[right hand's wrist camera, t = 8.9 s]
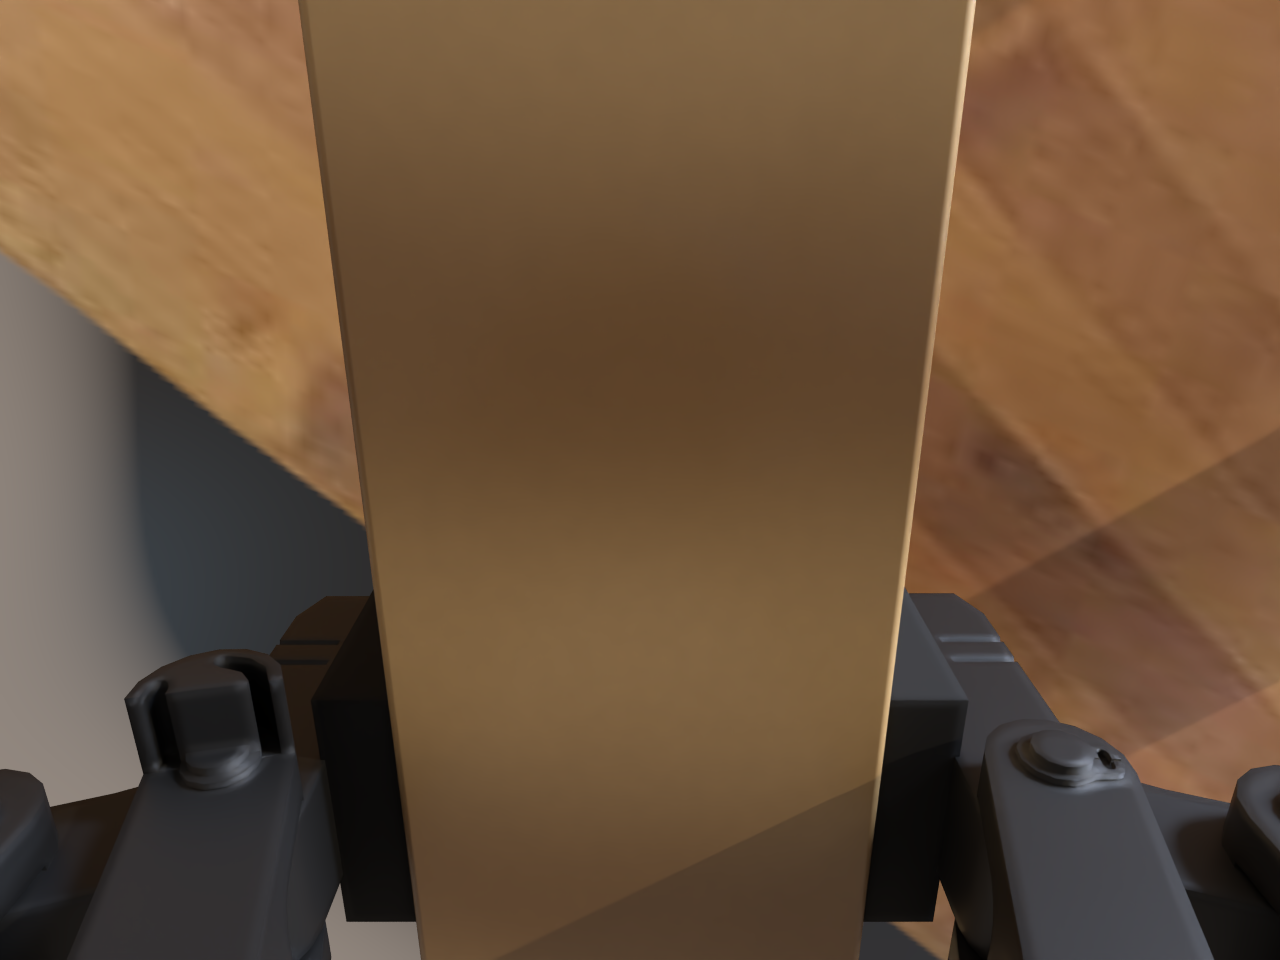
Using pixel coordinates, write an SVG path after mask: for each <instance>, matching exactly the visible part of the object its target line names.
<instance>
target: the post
mask: <svg viewBox="0 0 1280 960" xmlns="http://www.w3.org/2000/svg"><path fill="white" fill-rule="evenodd" d="M298 3H299V11H300V19H301V27H302V34H303V42H304V50H305V58H306V66H307V73H308V81H309V89H310V97H311V105H312V112H313V120H314V128H315V136H316V144H317V151H318V159H319V167H320V175H321V183H322V190H323V198H324V206H325V214H326V222H327V229H328V237H329V245H330V253H331V261H332V268H333V276H334V284H335V292H336V300H337V307H338V315H339V323H340V331H341V338H342V346H343V354H344V362H345V370H346V377H347V385H348V393H349V401H350V409H351V416H352V424H353V432H354V440H355V448H356V455H357V463H358V471H359V479H360V487H361V494H362V502H363V510H364V518H365V526H366V533H367V541H368V549H369V557H370V565H371V572H372V580H373V588H374V596H375V604H376V611H377V619H378V627H379V635H380V643H381V650H382V658H383V666H384V674H385V682H386V689H387V697H388V705H389V713H390V721H391V728H392V736H393V744H394V752H395V760H396V767H397V775H398V783H399V791H400V799H401V806H402V814H403V822H404V830H405V838H406V845H407V853H408V861H409V869H410V877H411V884H412V892H413V900H414V908H415V916H416V923H417V931H418V939H419V947H420V955H421V960H859V952H860V944H861V936H862V927H863V919H864V911H865V903H866V895H867V887H868V878H869V870H870V862H871V854H872V846H873V838H874V830H875V821H876V813H877V805H878V797H879V789H880V781H881V772H882V764H883V756H884V748H885V740H886V732H887V723H888V715H889V707H890V699H891V691H892V683H893V674H894V666H895V658H896V650H897V642H898V634H899V626H900V617H901V609H902V601H903V593H904V585H905V577H906V568H907V560H908V552H909V544H910V536H911V528H912V519H913V511H914V503H915V495H916V487H917V479H918V470H919V462H920V454H921V446H922V438H923V430H924V422H925V413H926V405H927V397H928V389H929V381H930V373H931V364H932V356H933V348H934V340H935V332H936V324H937V315H938V307H939V299H940V291H941V283H942V275H943V266H944V258H945V250H946V242H947V234H948V226H949V218H950V209H951V201H952V193H953V185H954V177H955V169H956V160H957V152H958V144H959V136H960V128H961V120H962V111H963V103H964V95H965V87H966V79H967V71H968V62H969V54H970V46H971V38H972V30H973V22H974V13H975V5H976V0H298Z"/></svg>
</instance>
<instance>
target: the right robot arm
mask: <svg viewBox="0 0 1280 960" xmlns="http://www.w3.org/2000/svg"><path fill="white" fill-rule="evenodd" d="M124 700H125V704H126V708H127V712H128V715H129V719H130V723H131V727H132V731H133V735H134V739H135V743H136V747H137V751H138V755H139V759H140V763H141V767H142V770H143V777H142V779H141V782H140V784H139V786H138V787H136V788H132V789H129V790H125V791H121V792H118V793H114V794H109V795H104V796H100V797H95V798H90V799H86V800H81V801H76V802H71V803H67V804H62V805H57V806H53V807H50V806H49V802H48V799H47V796H46V793H45V789H44V786H43V783H41V782H40V781H39V780H37V779H36V778H35V777H34V776H33V775H31V774H30V773H27V772H21V771H15V770H9V769H1V770H0V960H331V952H330V946H329V939H328V933H327V928H326V922H325V920H326V917H327V915H328V912H329V909H330V907H331V904H332V902H333V899H334V897H335V894H336V892H337V889H338V887H339V884H341V890H342V896H343V903H344V909H345V915H346V921H347V922H416V916H415V908H414V900H413V892H412V884H411V877H410V869H409V861H408V853H407V845H406V838H405V830H404V822H403V814H402V806H401V799H400V791H399V783H398V775H397V767H396V760H395V752H394V744H393V736H392V728H391V721H390V713H389V705H388V697H387V689H386V682H385V674H384V666H383V658H382V650H381V643H380V635H379V627H378V619H377V611H376V604H375V596H374V589H373V591H372V593H371V595H370V596H326V597H324V598H323V599H322V600H320V601H319V602H317V603H316V604H314V605H313V606H311V607H310V608H308V609H307V610H305V611H304V612H302V613H301V614H299V615H298V616H297V617H296V618H295V619H294V621H293V622H292V624H291V625H290V627H289V628H288V629H287V631H286V632H285V634H284V635H283V637H282V638H281V640H280V645H276V647H275V648H274V650H273V651H272V653H271V654H270V655H268V654H265V653H260V652H256V651H252V650H248V649H224V650H215V651H210V652H205V653H200V654H196V655H191V656H188V657H185V658H183V659H180V660H178V661H175V662H173V663H170V664H168V665H165V666H162V667H161V668H159V669H157V670H156V671H154V672H153V673H151V674H150V675H148V676H147V677H145V678H144V679H142V680H141V681H139V682H138V683H137V684H136V685H135V687H134V688H133V689H132V690H131V691H130V693H129V694H128V695H127V696H126V697H125V699H124ZM939 881H941V884H942V886H943V889H944V891H945V894H946V896H947V899H948V901H949V904H950V906H951V909H952V911H953V914H954V917H955V922H954V928H953V933H952V939H951V945H950V951H949V956H948V960H1280V766H1279V765H1272V766H1266V767H1260V768H1254V769H1250V770H1249V771H1248V772H1247V773H1245V774H1244V775H1243V776H1242V777H1240V778H1239V779H1238V780H1237V784H1236V787H1235V790H1234V793H1233V797H1232V800H1231V803H1227V802H1222V801H1217V800H1212V799H1208V798H1203V797H1198V796H1193V795H1189V794H1184V793H1179V792H1174V791H1170V790H1165V789H1161V788H1158V787H1154V786H1150V785H1147V784H1143V783H1141V782H1140V780H1139V778H1138V775H1137V773H1136V772H1135V770H1134V769H1133V767H1132V766H1131V765H1130V763H1129V762H1128V760H1127V759H1126V758H1125V756H1124V755H1123V754H1122V753H1120V752H1119V751H1118V750H1116V749H1115V748H1114V747H1112V746H1111V745H1110V744H1108V743H1107V742H1106V741H1104V740H1103V739H1102V738H1099V737H1097V736H1095V735H1093V734H1091V733H1088V732H1086V731H1084V730H1082V729H1080V728H1077V727H1075V726H1071V725H1067V724H1063V723H1059V721H1058V720H1057V718H1056V717H1055V715H1054V714H1053V713H1052V711H1051V710H1050V708H1049V707H1048V705H1047V704H1046V702H1045V701H1044V700H1043V698H1042V697H1041V695H1040V694H1039V692H1038V691H1037V690H1036V688H1035V687H1034V685H1033V684H1032V682H1031V681H1030V680H1029V678H1028V677H1027V675H1026V674H1025V672H1024V671H1023V669H1022V668H1021V667H1020V665H1019V664H1018V662H1014V657H1013V655H1012V654H1011V652H1010V651H1009V649H1008V648H1007V647H1006V645H1005V644H1004V642H1000V637H999V635H998V634H997V632H996V631H995V629H994V628H993V626H992V625H991V624H990V622H989V621H988V619H987V618H986V616H985V615H984V614H983V613H982V612H980V611H979V610H977V609H976V608H974V607H973V606H971V605H970V604H968V603H967V602H966V601H964V600H963V599H961V598H960V597H958V596H957V595H955V594H954V593H908V592H907V590H906V589H905V587H904V593H903V601H902V609H901V617H900V626H899V634H898V642H897V650H896V658H895V666H894V674H893V683H892V691H891V699H890V707H889V715H888V723H887V732H886V740H885V748H884V756H883V764H882V772H881V781H880V789H879V797H878V805H877V813H876V821H875V830H874V838H873V846H872V854H871V862H870V870H869V878H868V887H867V895H866V903H865V911H864V919H863V922H933V917H934V911H935V905H936V899H937V893H938V887H939Z"/></svg>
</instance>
